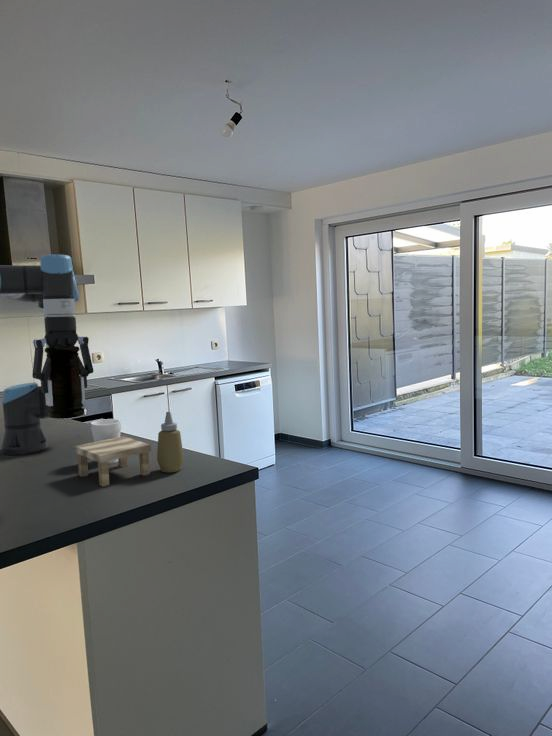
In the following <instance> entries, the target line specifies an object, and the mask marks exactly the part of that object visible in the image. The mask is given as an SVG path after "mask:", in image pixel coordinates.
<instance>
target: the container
mask: <svg viewBox="0 0 552 736" xmlns="http://www.w3.org/2000/svg"><path fill="white" fill-rule="evenodd" d="M74 346H75V345H74ZM79 351H80V346H75V347H64V348H49V347H48V348H46V347H44V353H46V355H45V356H46V358H51V372H50V375H49V378H48V380H51V382H52V396H53V406H49V407H48V409H50V411H49V412H48V416H49V417H50V418H49V419H55V420H57V419H61V420H62V419H72V418H77V417H81V416H83V415H84V414H85V409H84V408H83V407H84V402H83V403H82V398H81V395H82V394H81V389H80V373H79V361H78V356H79Z"/></svg>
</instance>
